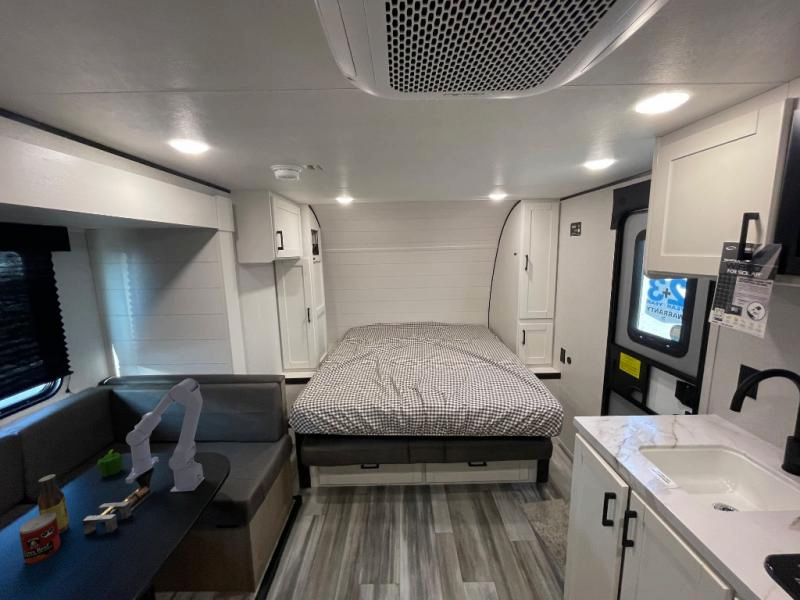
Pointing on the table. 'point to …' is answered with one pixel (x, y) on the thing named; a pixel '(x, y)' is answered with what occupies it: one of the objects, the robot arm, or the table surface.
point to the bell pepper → (110, 464)
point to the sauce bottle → (53, 501)
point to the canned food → (39, 538)
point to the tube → (136, 495)
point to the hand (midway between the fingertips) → (145, 488)
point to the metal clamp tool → (110, 515)
